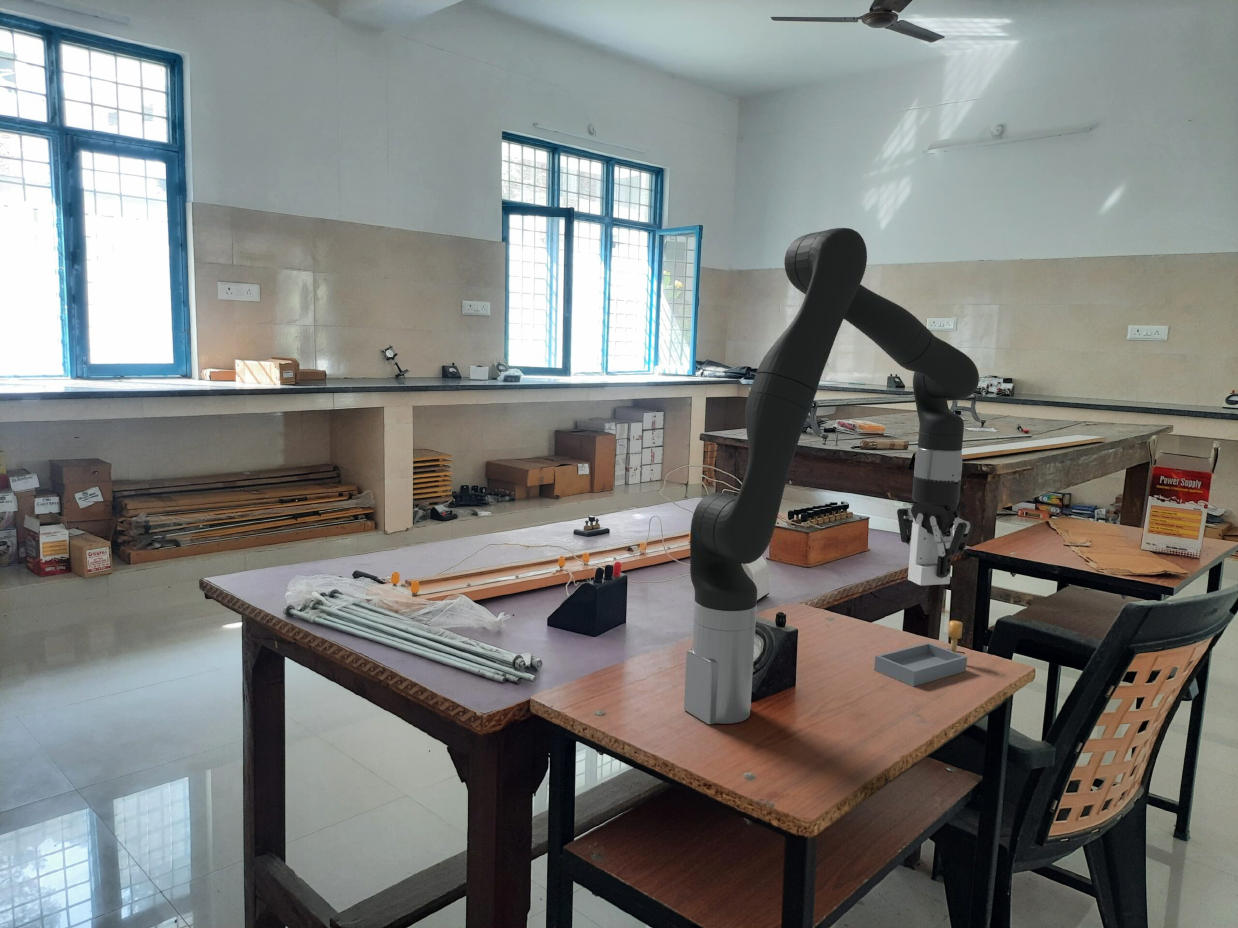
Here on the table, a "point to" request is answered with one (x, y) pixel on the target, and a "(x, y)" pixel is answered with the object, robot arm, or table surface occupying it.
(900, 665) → the shallow grey tray
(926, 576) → the white angled block
